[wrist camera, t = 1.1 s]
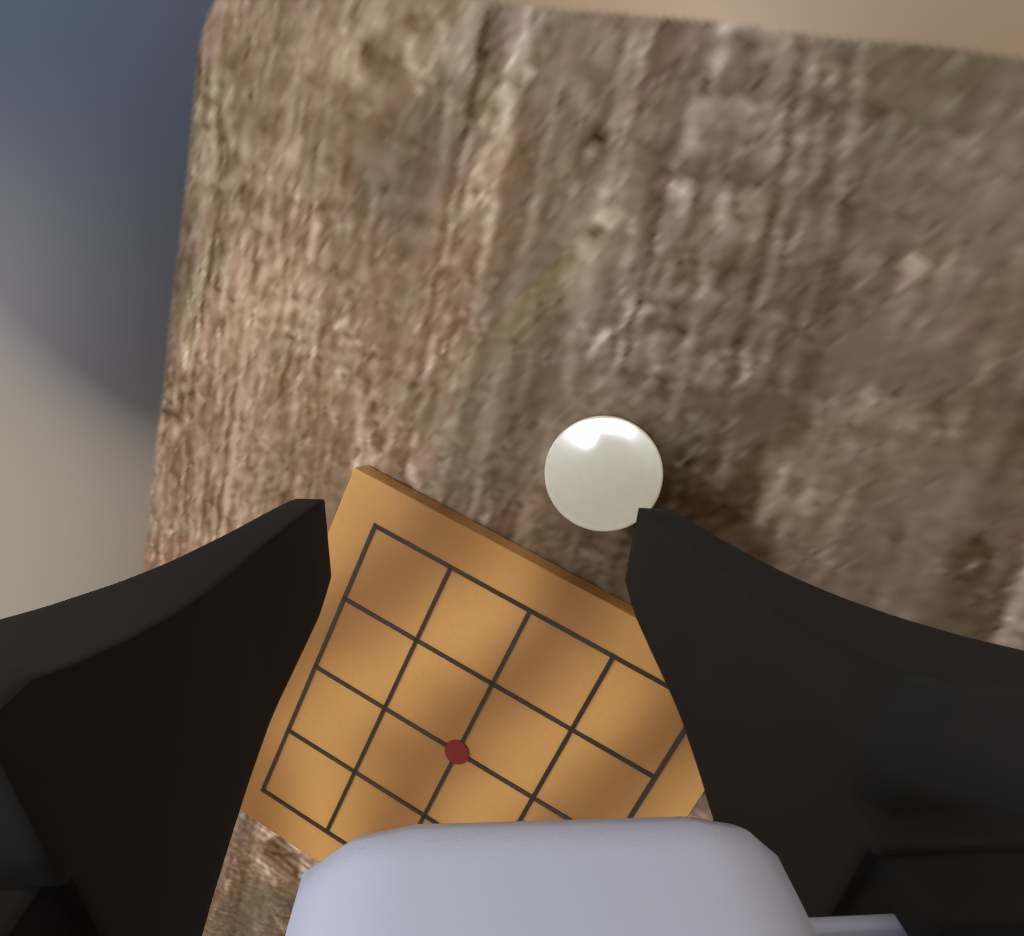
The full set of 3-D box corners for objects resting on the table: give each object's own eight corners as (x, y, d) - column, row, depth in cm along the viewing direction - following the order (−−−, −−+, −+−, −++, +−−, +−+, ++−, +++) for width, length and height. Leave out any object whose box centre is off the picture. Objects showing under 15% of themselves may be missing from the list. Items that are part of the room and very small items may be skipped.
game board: (763, 674, 21) (772, 691, 20) (557, 991, 25) (554, 1021, 24) (366, 464, 24) (353, 467, 22) (237, 781, 28) (219, 798, 26)
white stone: (675, 442, 21) (686, 448, 18) (626, 532, 21) (628, 552, 19) (580, 397, 21) (575, 395, 18) (536, 487, 22) (525, 499, 19)
